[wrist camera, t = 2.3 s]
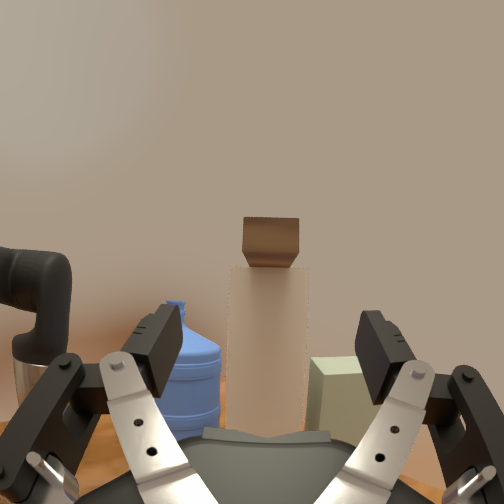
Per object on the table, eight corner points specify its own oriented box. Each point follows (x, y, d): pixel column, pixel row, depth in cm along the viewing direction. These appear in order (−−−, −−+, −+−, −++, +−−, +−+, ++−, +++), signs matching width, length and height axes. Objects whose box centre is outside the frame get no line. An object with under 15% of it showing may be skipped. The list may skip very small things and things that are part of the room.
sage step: (378, 507, 23) (409, 368, 26) (304, 517, 23) (324, 374, 27) (359, 473, 33) (378, 354, 36) (298, 479, 33) (310, 357, 37)
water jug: (216, 434, 50) (219, 303, 55) (224, 474, 35) (228, 304, 39) (140, 430, 47) (138, 297, 52) (126, 468, 32) (118, 296, 36)
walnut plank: (299, 252, 20) (299, 218, 21) (242, 251, 20) (243, 216, 21) (282, 278, 42) (283, 261, 42) (255, 277, 42) (255, 260, 42)
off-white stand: (288, 517, 23) (309, 268, 29) (224, 515, 24) (230, 266, 29) (285, 479, 33) (298, 277, 39) (233, 477, 34) (239, 275, 39)
